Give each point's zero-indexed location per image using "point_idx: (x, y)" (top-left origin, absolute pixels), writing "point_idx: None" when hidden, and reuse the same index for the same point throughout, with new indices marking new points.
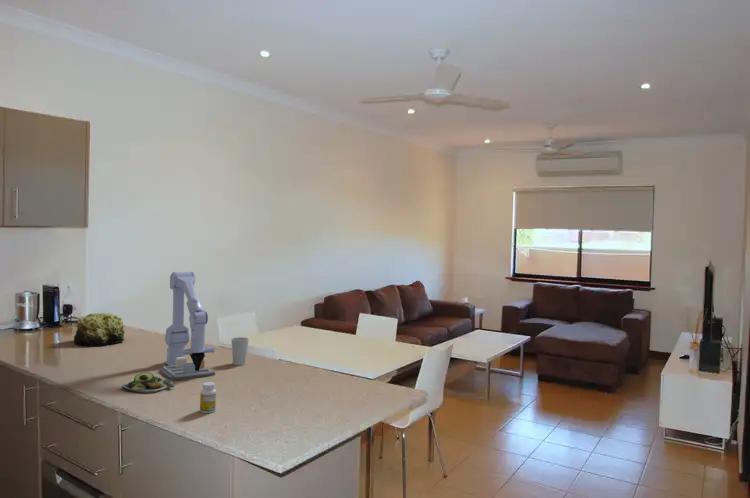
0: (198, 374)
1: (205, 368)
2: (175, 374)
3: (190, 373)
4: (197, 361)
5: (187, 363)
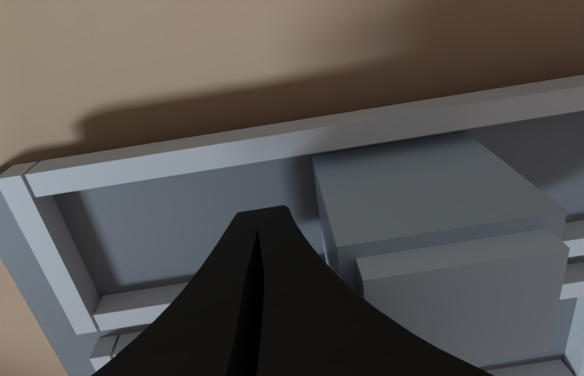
0: (254, 128)
1: (117, 353)
2: (566, 225)
3: (389, 154)
4: (286, 309)
5: (492, 336)
